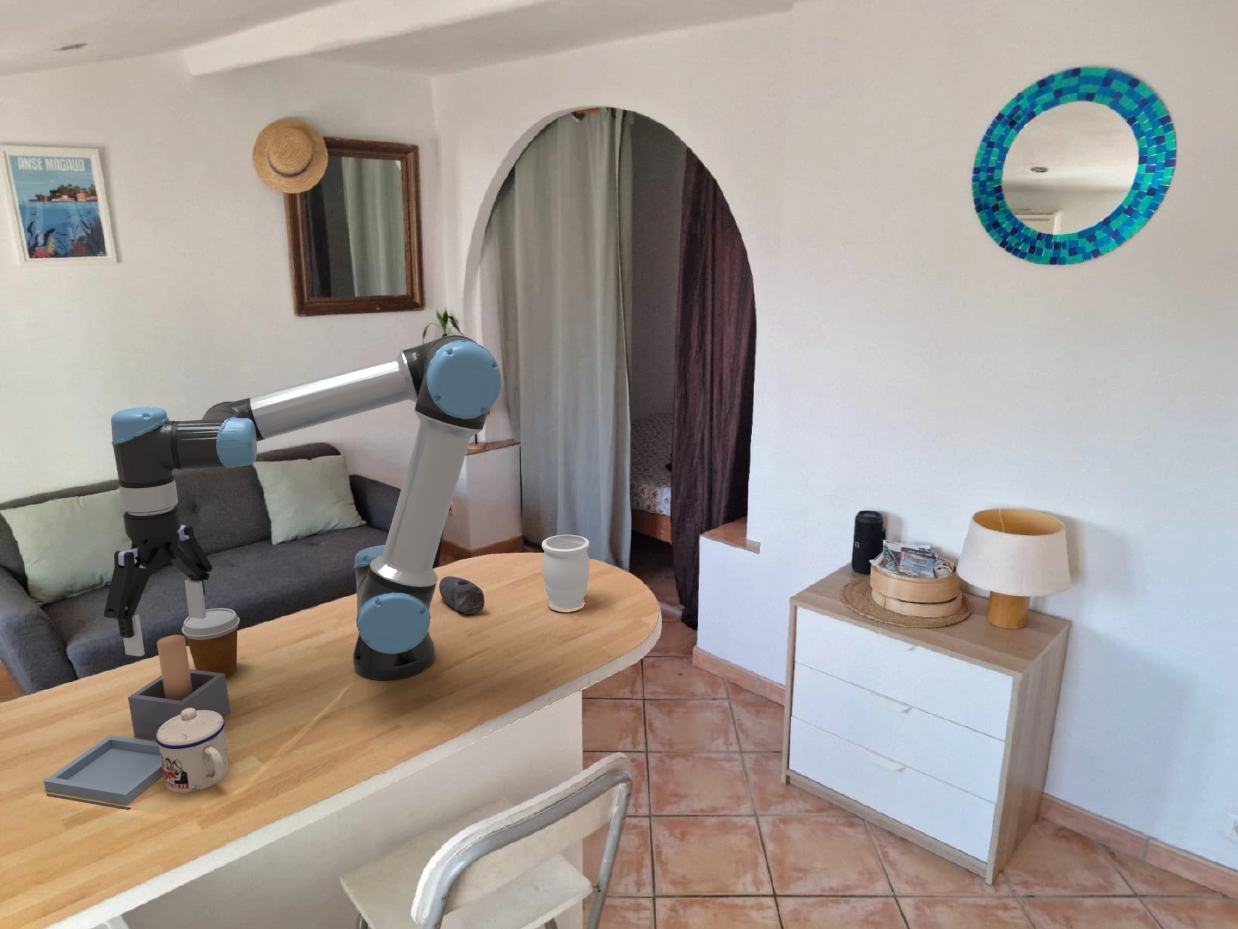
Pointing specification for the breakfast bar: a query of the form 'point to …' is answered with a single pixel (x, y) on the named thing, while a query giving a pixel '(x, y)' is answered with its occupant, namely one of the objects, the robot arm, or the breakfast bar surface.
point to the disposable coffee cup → (213, 641)
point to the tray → (109, 772)
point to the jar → (565, 570)
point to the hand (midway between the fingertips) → (168, 635)
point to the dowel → (174, 667)
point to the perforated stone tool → (461, 594)
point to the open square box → (176, 702)
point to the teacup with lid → (193, 750)
